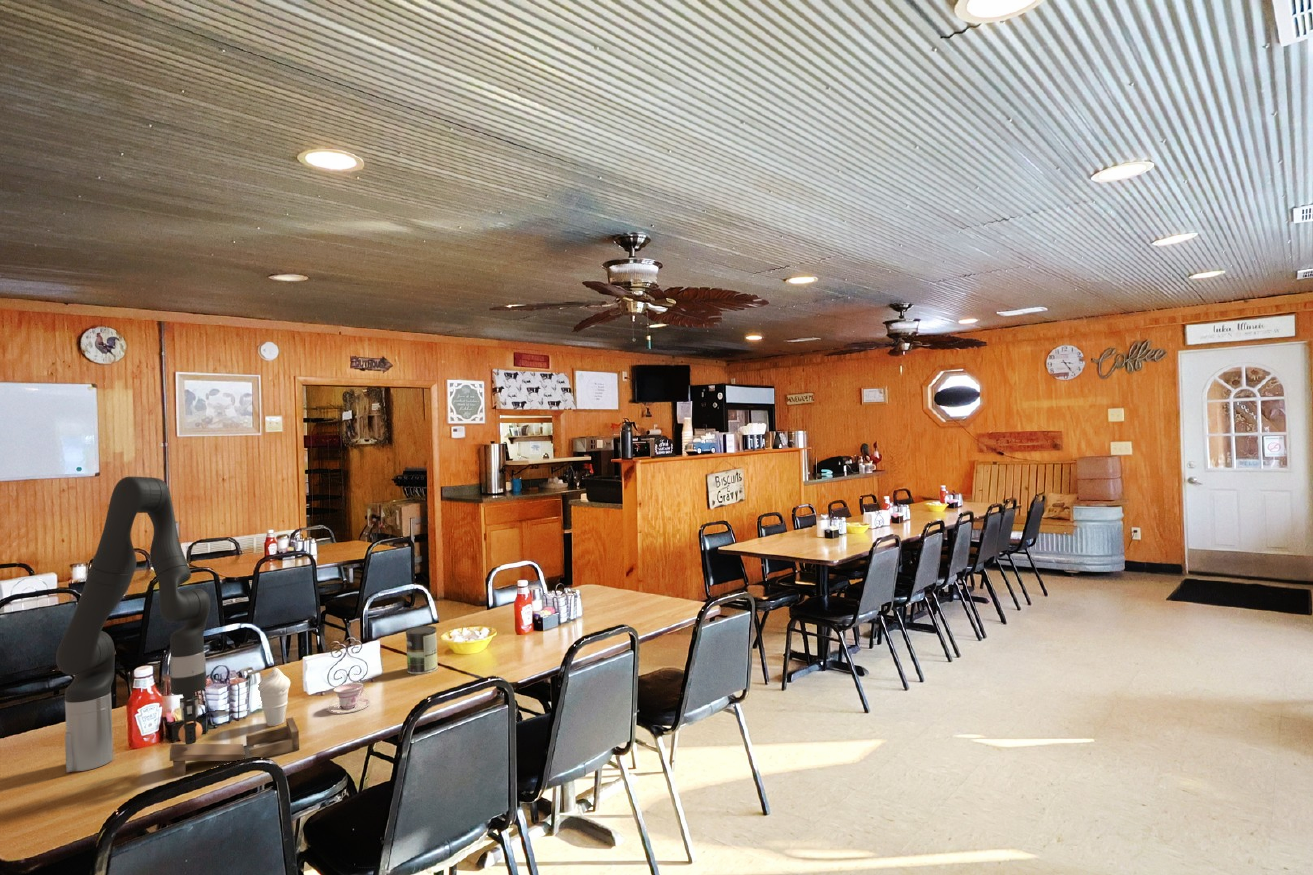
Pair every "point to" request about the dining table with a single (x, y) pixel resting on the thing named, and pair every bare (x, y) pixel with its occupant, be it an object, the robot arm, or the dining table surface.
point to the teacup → (348, 698)
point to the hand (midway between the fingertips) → (190, 739)
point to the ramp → (203, 754)
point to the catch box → (273, 741)
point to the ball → (182, 731)
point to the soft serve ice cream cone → (274, 696)
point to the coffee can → (421, 650)
